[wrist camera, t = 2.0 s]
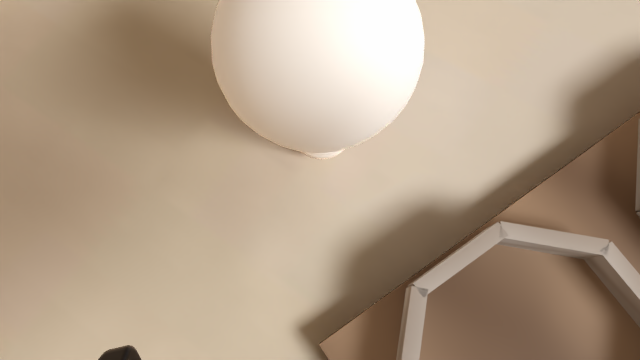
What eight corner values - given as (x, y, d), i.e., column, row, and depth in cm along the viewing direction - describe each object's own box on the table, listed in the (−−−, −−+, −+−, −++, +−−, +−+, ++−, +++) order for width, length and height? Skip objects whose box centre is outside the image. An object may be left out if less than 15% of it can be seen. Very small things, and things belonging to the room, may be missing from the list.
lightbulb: (301, 233, 22) (273, 156, 12) (226, 119, 24) (139, -45, 13) (421, 155, 23) (498, 15, 12) (341, 48, 24) (349, -162, 14)
